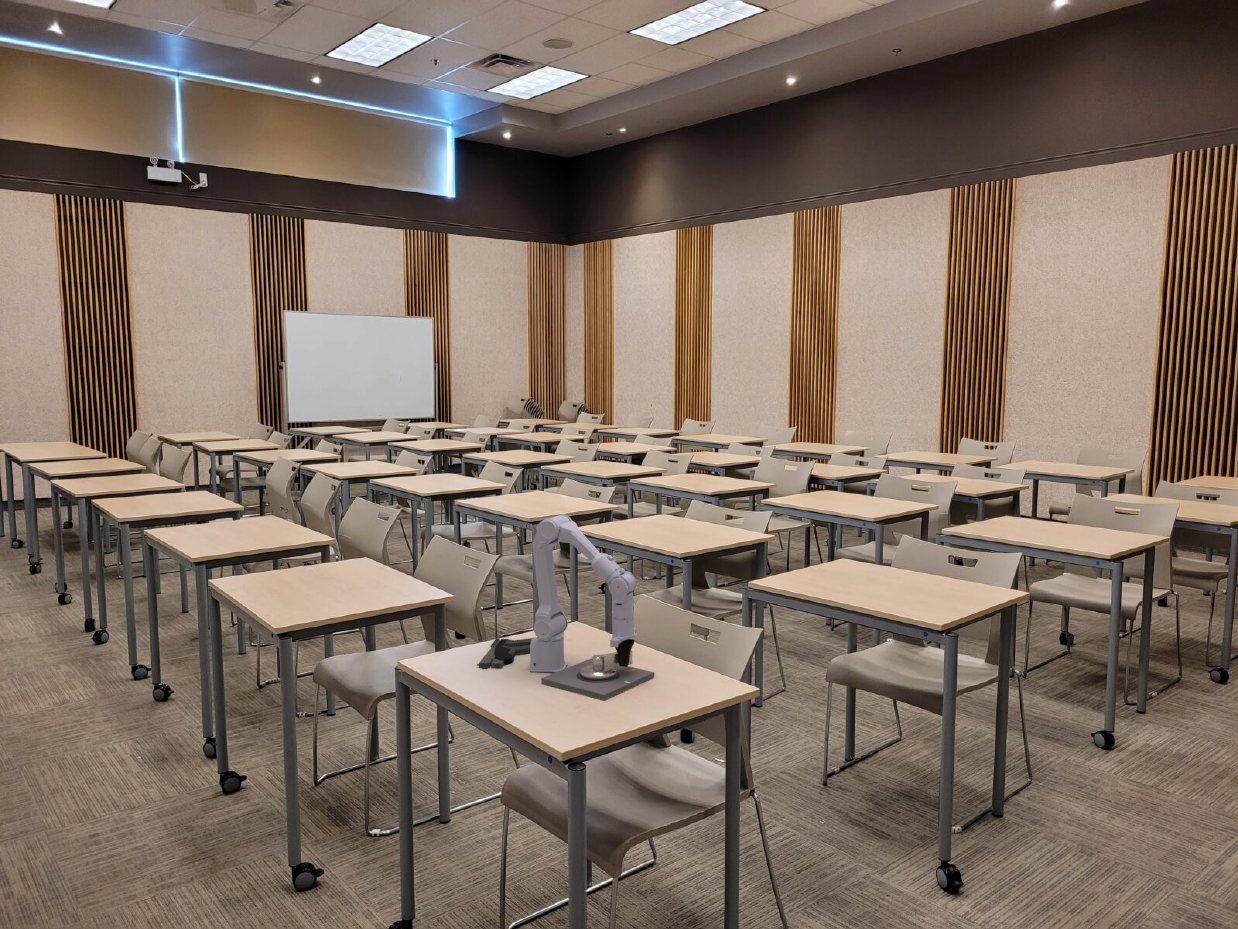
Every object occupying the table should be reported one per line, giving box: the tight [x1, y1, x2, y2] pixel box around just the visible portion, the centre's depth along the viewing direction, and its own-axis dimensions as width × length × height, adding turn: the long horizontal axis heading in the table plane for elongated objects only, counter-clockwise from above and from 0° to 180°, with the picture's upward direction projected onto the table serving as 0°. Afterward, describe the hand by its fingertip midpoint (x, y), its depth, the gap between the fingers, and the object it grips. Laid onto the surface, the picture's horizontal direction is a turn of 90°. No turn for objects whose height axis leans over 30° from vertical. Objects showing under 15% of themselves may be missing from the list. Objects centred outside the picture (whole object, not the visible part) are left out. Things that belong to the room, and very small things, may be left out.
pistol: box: [476, 637, 533, 670], centre depth 264 cm, size 2×26×15 cm
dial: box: [580, 649, 633, 680], centre depth 242 cm, size 16×10×5 cm, turn 120°
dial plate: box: [540, 657, 655, 702], centre depth 241 cm, size 22×22×2 cm
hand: (624, 665), depth 242 cm, fingers closed, pressing on dial
